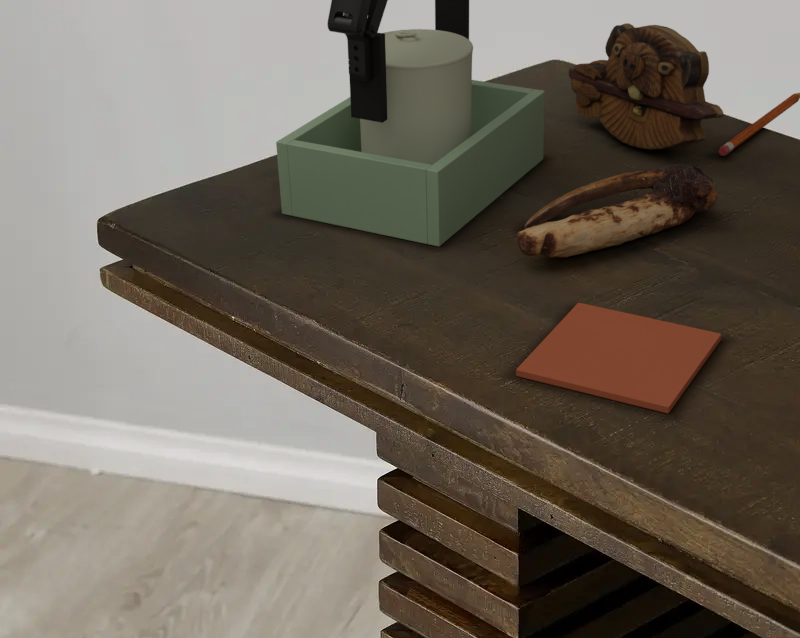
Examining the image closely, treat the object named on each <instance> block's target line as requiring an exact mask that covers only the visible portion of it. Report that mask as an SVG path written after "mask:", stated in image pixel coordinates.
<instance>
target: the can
mask: <svg viewBox="0 0 800 638" xmlns="http://www.w3.org/2000/svg"><path fill="white" fill-rule="evenodd" d="M383 33H384V34H385V51H386V87H387V120H386V121H384V122H383V123H381V122H375V121H370V120H364V119H360V129H361V152H364V153H369V154H375V155H380V156H386V157H391V158H397V159H402V160H408V161H413V162H419V163H424V164H430V165H433V164H434V163H436V162H437V161H439V160H440V159H441V158H443V157H444V156H445V155H447V154H448V153H449V152H451V151H452V150H453V149H455V148H456V147H457V146H459V145H460V144H461V143H463V142H464V141H465V140H467V139H468V138H470V137H471V106H472V80H473V77H472V76H473V73H472V72H473V51H474V45H473V43H472V41H471V40H470V39H469V40H468V39H467V38H465V37H463V36H461V35H458V34H455V33H451V32H446V31H440V30H435V29H430V28H429V29H425V28H412V29H398V30H391V31H386V32H383Z"/></svg>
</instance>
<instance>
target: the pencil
mask: <svg viewBox="0 0 800 638" xmlns="http://www.w3.org/2000/svg"><path fill="white" fill-rule="evenodd" d="M799 100H800V92H796V93H793V94H791V95H790V96H789V97H787V98H786V99H784V100H783V101H782V102H780V103H778V105H776V106H775V107H774V108H772V109H771V110H769V111H768V112H766V113H765V114H764V115H763V116H761V117H759V118H758V119H757V120H756V121H754V122H753V123H752V124H750V125H749V126H748V127H746V128H745V129H744V130H742V131H741V132H739V133H738V134H737V135H735V136H734V137H733V138H731V139H729V140H728V141H727V142H726V143H725V144H723V145H721V146H720V147H719V148H718V150H717V151H718V154H719V155H720V156H723V157H726V156H727V155H728V154H730V153H731V152H732V151H734V149H736V148H738V147H740V145H742V144H743V143H744V142H746V141H747V140H748V139H750V138H751V137H752V136H754V135H755V134H756V133H758V132H759V131H760V130H762V129H763V128H764V127H766V126H767V125H768V124H770V123H771V122H773V121H774V120H775V119H776V118H778V117H779V116H780V115H782V114H783V113H785V112H786V111H787V110H789V109H790V108H792V106H794V105H795V104H796V103H798V102H799Z"/></svg>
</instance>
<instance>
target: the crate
mask: <svg viewBox="0 0 800 638" xmlns="http://www.w3.org/2000/svg"><path fill="white" fill-rule="evenodd" d="M545 109H546V90H542V89H536V88H530V87H523V86H515V85H508V84H502V83H495V82H487V81H483V80H476V79H472V106H471V137H470V138H468V139H467V140H465V141H464V142H463V143H461V144H460V145H459V146H457V147H456V148H455V149H453V150H452V151H451V152H449V153H448V154H447V155H445V156H444V157H443V158H441V159H440V160H439V161H437V162H436V163H434V164H433V165H430V164H424V163H419V162H413V161H408V160H402V159H397V158H391V157H386V156H380V155H375V154H369V153H364V152H361V129H360V119H359V118H353V117H351V99H350V96H349V97H347V98H346V99H344V100H343V101H341V102H339V103H338V104H336V105H334V106H333V107H331V108H329V109H328V110H326V111H324V112H323V113H322V114H320V115H318V116H316V117H315V118H313V119H311V120H310V121H308V122H306V123H304V124H303V125H301V126H300V127H298V128H297V129H295V130H293V131H292V132H289V134H286V135H285V136H283V137H282V138H280V139H279V140H276V142H275V144H276V146H275V147H276V156H277V157H276V159H277V171H278V182H279V193H280V205H281V214H282V215H286V216H291V217H296V218H299V219H304V220H309V221H314V222H320V223H325V224H328V225H333V226H338V227H343V228H349V229H353V230H357V231H363V232H366V233H371V234H377V235H381V236H387V237H391V238H396V239H400V240H405V241H410V242H415V243H419V244H424V245H429V246H434V247H441V246H442V245H443V244H444V243H445V242H446V241H448V240H449V239H450V238H452V236H454V235H455V234H456V233H457V232H458V231H460V230H461V229H462V228H463V227H464V226H466V225H467V224H468V223H469V222H470V221H472V220H473V219H474V218H475V217H476V216H477V215H479V214H480V213H481V212H482V211H484V210H485V209H486V208H487V207H488V206H490V205H491V204H492V203H493V202H494V201H495V200H497V199H498V198H499V197H500V196H501V195H502V194H504V193H505V192H506V191H507V190H508V189H510V188H511V187H512V186H513V185H514V184H515V183H517V182H519V180H520V179H522V178H523V177H524V176H525V175H526V174H527V173H529V172H530V171H531V170H532V169H533V168H534V167H536V166H537V165H538V164H539V163H540V162H542V161H543V160H544V150H545V116H546V115H545V114H546V112H545V111H546V110H545Z"/></svg>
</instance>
